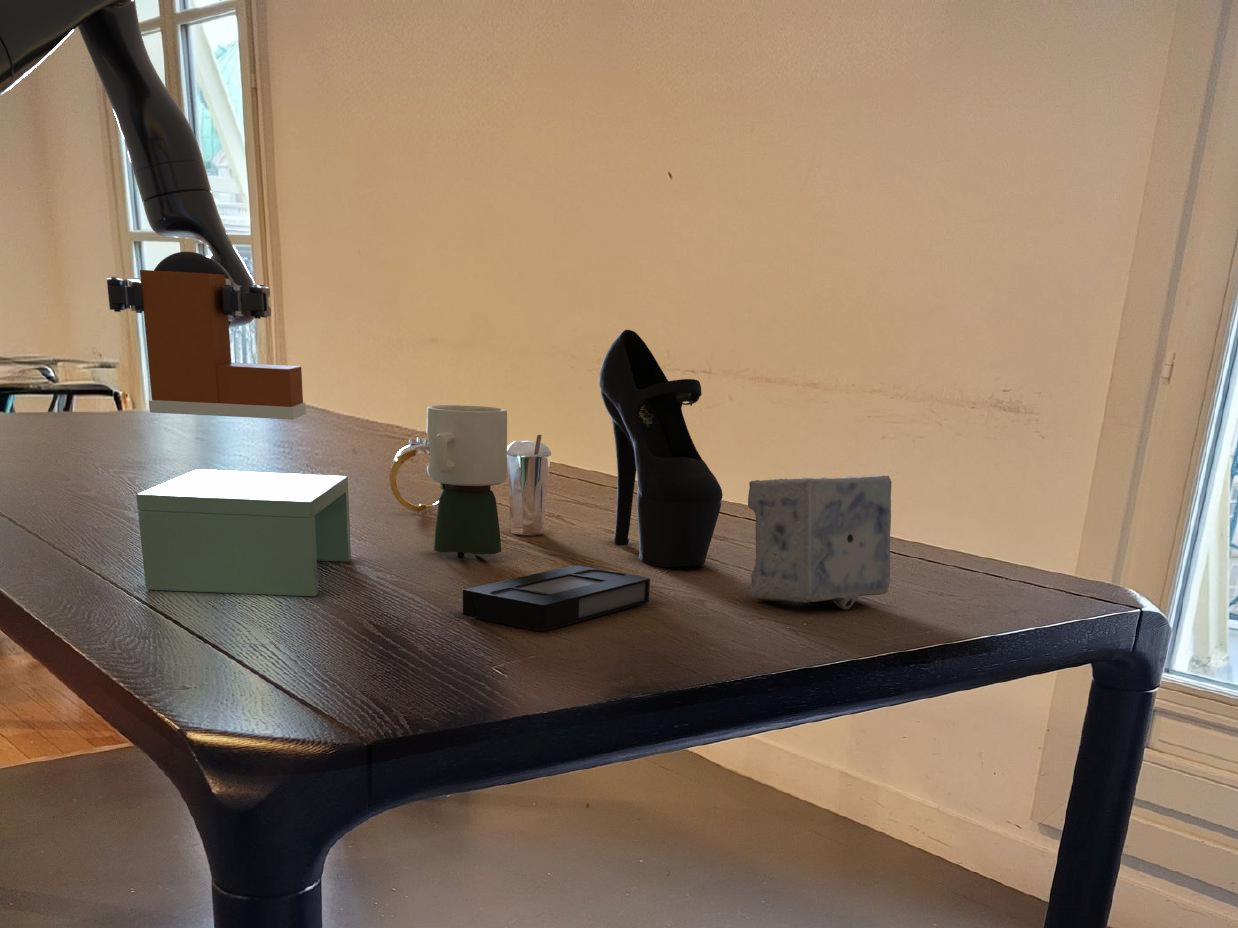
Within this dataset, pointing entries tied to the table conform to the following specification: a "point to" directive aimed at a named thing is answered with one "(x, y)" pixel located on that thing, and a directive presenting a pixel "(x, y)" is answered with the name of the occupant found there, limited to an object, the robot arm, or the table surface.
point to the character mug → (467, 475)
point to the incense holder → (821, 538)
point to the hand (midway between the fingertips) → (183, 298)
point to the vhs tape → (555, 597)
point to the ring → (398, 460)
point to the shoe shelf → (243, 531)
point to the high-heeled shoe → (657, 458)
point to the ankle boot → (207, 355)
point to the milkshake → (528, 485)
